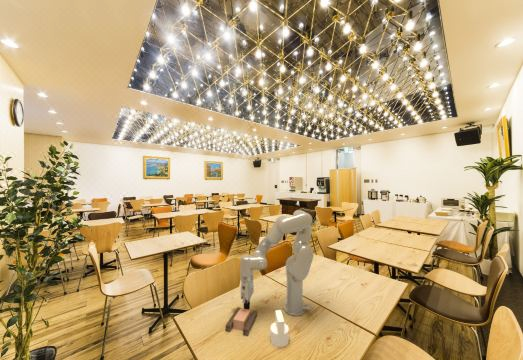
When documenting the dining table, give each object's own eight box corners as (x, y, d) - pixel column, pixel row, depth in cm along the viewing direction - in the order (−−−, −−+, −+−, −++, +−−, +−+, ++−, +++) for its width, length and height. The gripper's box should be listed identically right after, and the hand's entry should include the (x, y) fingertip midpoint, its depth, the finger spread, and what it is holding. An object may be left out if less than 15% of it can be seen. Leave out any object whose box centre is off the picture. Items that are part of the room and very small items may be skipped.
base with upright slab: (269, 333, 107) (269, 310, 107) (286, 332, 108) (286, 309, 108) (271, 348, 98) (271, 322, 98) (290, 346, 99) (290, 321, 99)
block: (250, 318, 119) (250, 310, 119) (243, 331, 110) (243, 321, 110) (240, 316, 121) (240, 308, 121) (233, 328, 111) (233, 319, 111)
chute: (257, 315, 121) (257, 310, 121) (247, 336, 106) (247, 330, 106) (237, 312, 125) (237, 307, 125) (225, 331, 109) (225, 325, 109)
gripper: (248, 284, 114) (248, 317, 114) (256, 272, 128) (256, 302, 129) (235, 282, 116) (235, 315, 116) (245, 270, 131) (245, 300, 131)
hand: (246, 308), depth 122 cm, fingers closed
